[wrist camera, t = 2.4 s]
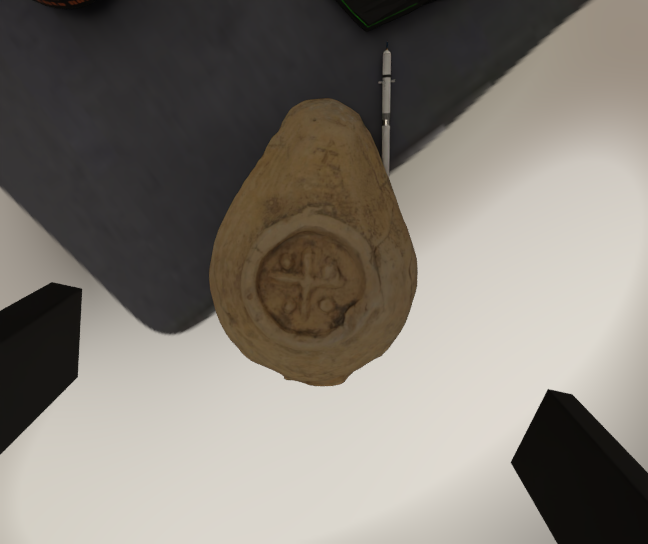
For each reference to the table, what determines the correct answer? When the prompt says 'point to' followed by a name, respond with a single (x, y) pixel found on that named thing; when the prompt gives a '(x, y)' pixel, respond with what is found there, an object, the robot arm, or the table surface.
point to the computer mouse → (378, 10)
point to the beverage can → (65, 3)
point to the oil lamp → (314, 251)
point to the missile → (386, 108)
